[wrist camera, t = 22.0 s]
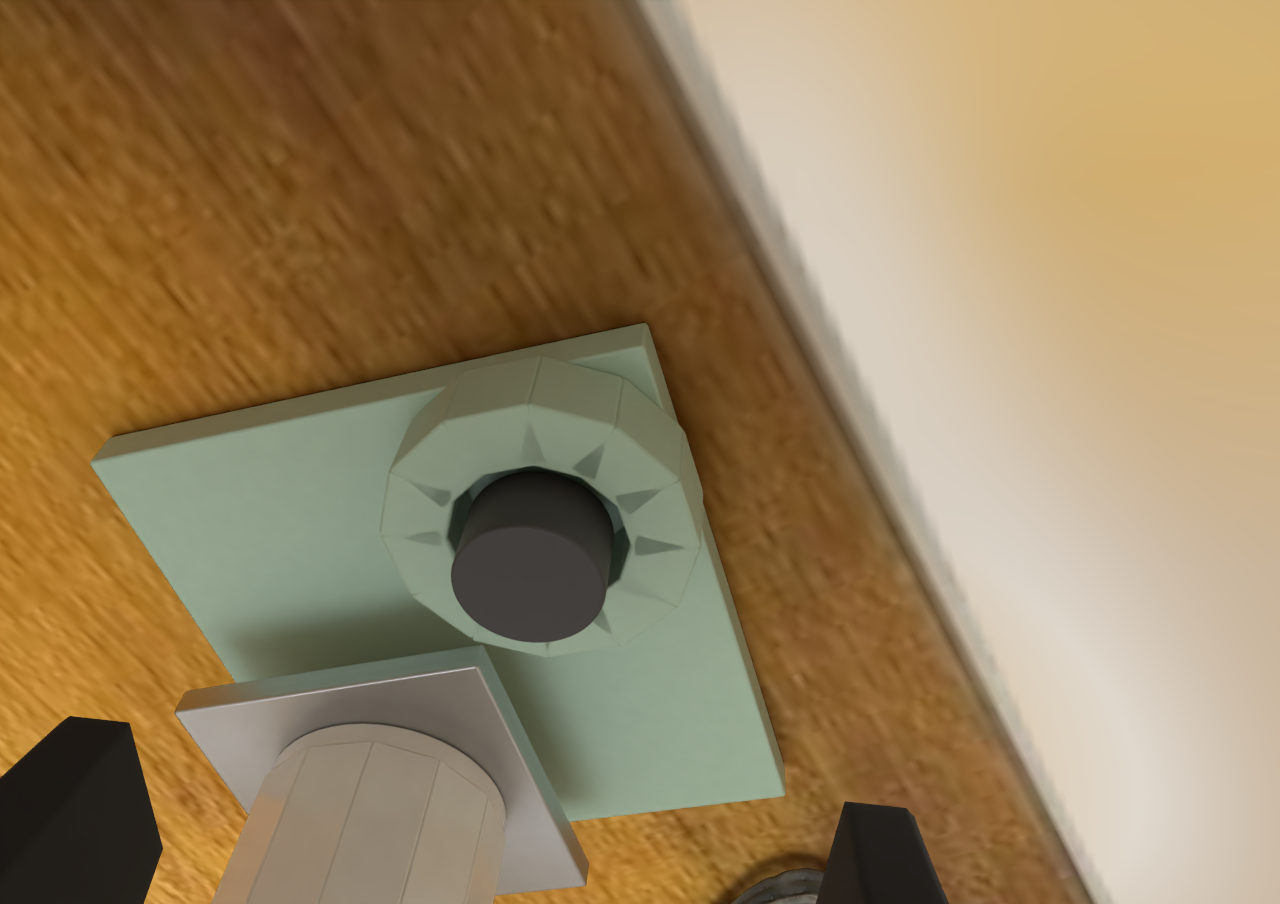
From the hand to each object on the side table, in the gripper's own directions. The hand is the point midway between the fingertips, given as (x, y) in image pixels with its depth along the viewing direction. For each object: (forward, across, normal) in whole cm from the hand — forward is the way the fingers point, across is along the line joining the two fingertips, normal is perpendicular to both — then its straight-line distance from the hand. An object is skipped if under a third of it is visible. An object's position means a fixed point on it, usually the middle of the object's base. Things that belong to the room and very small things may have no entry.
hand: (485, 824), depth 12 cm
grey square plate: (+8, +3, +10) cm, 13 cm away
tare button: (+8, 0, +3) cm, 9 cm away
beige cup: (+7, +3, +10) cm, 13 cm away
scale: (+10, +2, +7) cm, 13 cm away
